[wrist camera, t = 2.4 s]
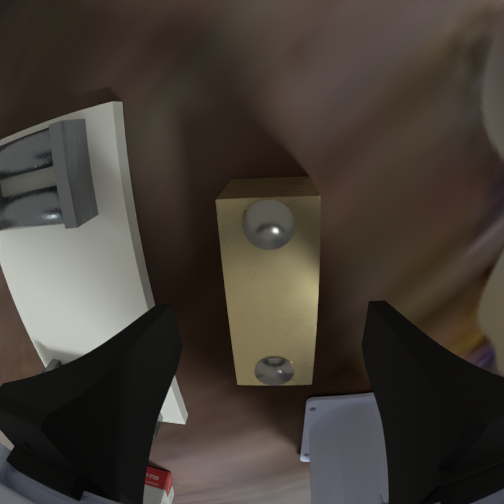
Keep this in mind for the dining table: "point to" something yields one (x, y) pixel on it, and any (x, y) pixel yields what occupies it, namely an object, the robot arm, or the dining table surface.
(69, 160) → the chain ends
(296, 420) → the dining table surface
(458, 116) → the dining table surface
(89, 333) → the board
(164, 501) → the ink box
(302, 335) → the brass block
